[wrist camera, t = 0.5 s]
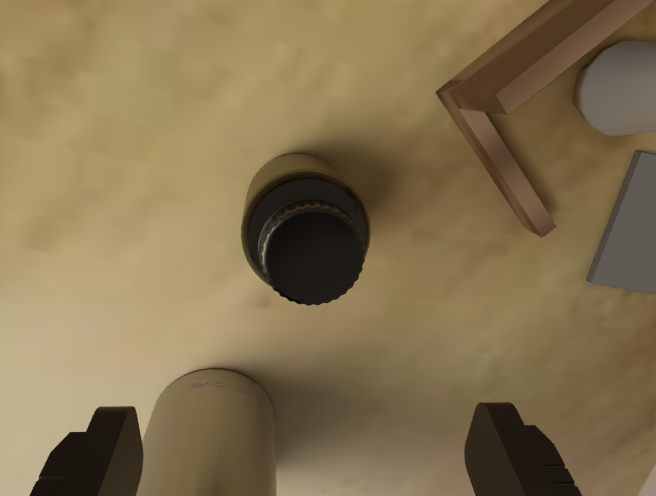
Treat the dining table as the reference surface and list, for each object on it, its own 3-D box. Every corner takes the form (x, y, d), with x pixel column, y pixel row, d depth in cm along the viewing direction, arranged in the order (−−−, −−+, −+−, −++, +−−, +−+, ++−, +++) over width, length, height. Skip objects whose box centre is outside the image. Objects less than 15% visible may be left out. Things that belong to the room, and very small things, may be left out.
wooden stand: (744, 63, 34) (902, 56, 26) (524, 227, 36) (604, 271, 28) (676, -102, 30) (835, -174, 22) (435, 92, 32) (495, 94, 24)
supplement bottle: (356, 235, 35) (399, 307, 24) (262, 260, 35) (260, 345, 23) (334, 139, 33) (370, 167, 21) (233, 164, 32) (215, 207, 21)
